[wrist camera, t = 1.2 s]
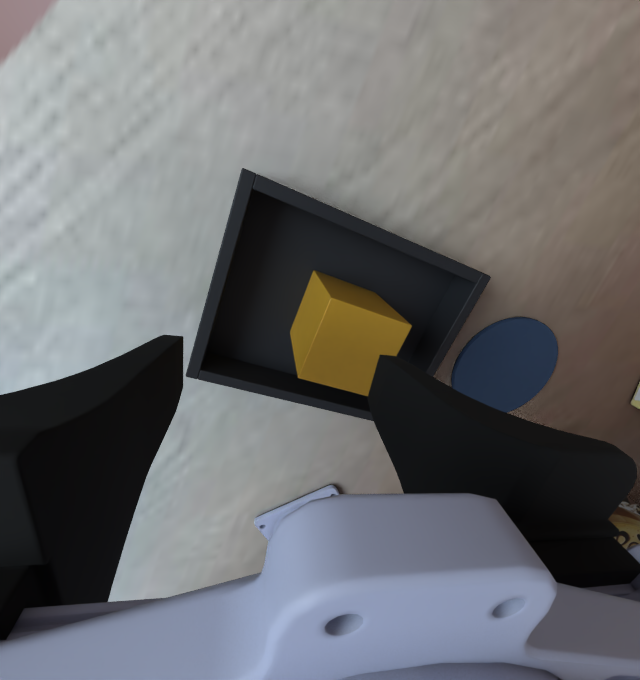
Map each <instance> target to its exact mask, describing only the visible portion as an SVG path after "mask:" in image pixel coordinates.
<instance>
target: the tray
mask: <svg viewBox="0 0 640 680" xmlns="http://www.w3.org/2000/svg"><path fill="white" fill-rule="evenodd" d="M314 270H315V271H318V272H321V273H323V274H326V275H329V276H332V277H334V278H337V279H340V280H342V281H345V282H348V283H351V284H353V285H356V286H359V287H361V288H364V289H367V290H369V291H372V292H375V293H376V294H377V295H378V296H380V297H381V298H382V299H383V300H384V301H385V302H386V303H387V304H388V305H390V306H391V307H392V308H393V309H394V310H395V311H396V312H397V313H398V314H400V315H401V316H402V317H403V318H404V319H405V320H406V321H407V322H409V323H410V324H411V325H412V327H411V329H410V331H409V333H408V335H407V337H406V339H405V341H404V343H403V344H402V346H401V348H400V350H399V352H398V354H397V356H396V357H398V358H401V359H403V360H405V361H406V362H408V363H410V364H412V365H413V366H415V367H417V368H419V369H420V370H422V371H424V372H425V373H427V374H429V375H430V376H432V377H433V376H434V374H435V372H436V371H437V369H438V367H439V365H440V364H441V362H442V360H443V359H444V357H445V355H446V353H447V352H448V350H449V348H450V347H451V345H452V343H453V341H454V340H455V338H456V336H457V335H458V333H459V331H460V330H461V328H462V326H463V324H464V323H465V321H466V319H467V318H468V316H469V314H470V312H471V311H472V309H473V307H474V306H475V304H476V302H477V300H478V299H479V297H480V295H481V294H482V292H483V290H484V288H485V287H486V285H487V283H488V282H489V280H490V278H491V277H490V276H489V275H486V274H484V273H482V272H479V271H477V270H475V269H473V268H470V267H468V266H466V265H464V264H461V263H459V262H457V261H454V260H452V259H450V258H448V257H445V256H443V255H441V254H438V253H436V252H434V251H432V250H429V249H427V248H425V247H422V246H420V245H418V244H416V243H413V242H411V241H409V240H406V239H404V238H402V237H400V236H397V235H395V234H393V233H390V232H388V231H386V230H384V229H381V228H379V227H377V226H374V225H372V224H370V223H368V222H365V221H363V220H361V219H358V218H356V217H354V216H352V215H349V214H347V213H345V212H343V211H340V210H338V209H336V208H333V207H331V206H329V205H327V204H324V203H322V202H320V201H317V200H315V199H313V198H311V197H308V196H306V195H304V194H301V193H299V192H297V191H295V190H292V189H290V188H288V187H285V186H283V185H281V184H279V183H276V182H274V181H272V180H269V179H267V178H265V177H263V176H260V175H258V174H257V175H256V174H255V173H253V172H251V171H249V170H247V169H244V168H242V170H241V174H240V178H239V181H238V185H237V189H236V193H235V196H234V200H233V204H232V207H231V211H230V215H229V218H228V222H227V226H226V229H225V233H224V237H223V240H222V244H221V248H220V251H219V255H218V259H217V262H216V266H215V270H214V273H213V277H212V281H211V284H210V288H209V292H208V296H207V299H206V303H205V307H204V310H203V314H202V318H201V321H200V325H199V329H198V332H197V336H196V340H195V343H194V347H193V351H192V354H191V358H190V362H189V365H188V369H187V373H186V377H190V378H194V379H197V378H198V379H199V380H203V381H207V382H211V383H216V384H220V385H224V386H228V387H232V388H237V389H241V390H245V391H249V392H254V393H258V394H262V395H266V396H270V397H275V398H279V399H283V400H287V401H291V402H296V403H300V404H304V405H308V406H312V407H317V408H321V409H325V410H329V411H333V412H338V413H342V414H346V415H350V416H354V417H359V418H363V419H367V420H371V421H374V420H373V417H372V414H371V411H370V407H369V403H368V399H367V397H368V396H365V395H361V394H357V393H353V392H350V391H346V390H342V389H338V388H334V387H330V386H327V385H323V384H319V383H315V382H311V381H308V380H304V379H300V378H298V376H297V370H296V364H295V359H294V353H293V347H292V341H291V336H290V330H291V328H292V325H293V323H294V320H295V317H296V315H297V312H298V310H299V307H300V304H301V302H302V299H303V296H304V294H305V291H306V289H307V286H308V283H309V281H310V278H311V276H312V273H313V271H314Z"/></svg>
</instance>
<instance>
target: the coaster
mask: <svg viewBox="0 0 640 680" xmlns="http://www.w3.org/2000/svg"><path fill="white" fill-rule="evenodd" d="M557 356H558V346H557V341H556V338H555V336H554V334H553V332H552V331H551V330H550V329H549V327H547V326H546V325H545V324H543V323H541V322H539V321H537V320H535V319H531V318H526V317H514V318H508V319H504V320H501V321H498V322H496V323H494V324H492V325H490V326H488V327H486V328H485V329H483V330H482V331H480V332H479V333H478V334H477V335H475V336H474V337H473V338H472V339H471V340H470V341H469V342H468V343H467V345H466V346H465V347H464V348H463V350H462V351H461V353H460V354H459V356H458V358H457V360H456V363H455V365H454V368H453V372H452V379H451V381H452V388H453V389H455V390H457V391H459V392H461V393H462V394H464V395H466V396H469V397H471V398H473V399H475V400H477V401H479V402H481V403H484V404H486V405H488V406H490V407H493V408H495V409H498V410H500V411H503V412H505V413H507V412H510V411H512V410H514V409H516V408H518V407H520V406H522V405H524V404H525V403H527V402H528V401H529V400H531V399H532V398H533V397H534V396H535V395H536V394H537V393H538V392H539V391H540V390H541V389H542V388H543V387H544V385H545V384H546V383H547V381H548V380H549V378H550V376H551V375H552V373H553V370H554V368H555V365H556V361H557Z"/></svg>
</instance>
